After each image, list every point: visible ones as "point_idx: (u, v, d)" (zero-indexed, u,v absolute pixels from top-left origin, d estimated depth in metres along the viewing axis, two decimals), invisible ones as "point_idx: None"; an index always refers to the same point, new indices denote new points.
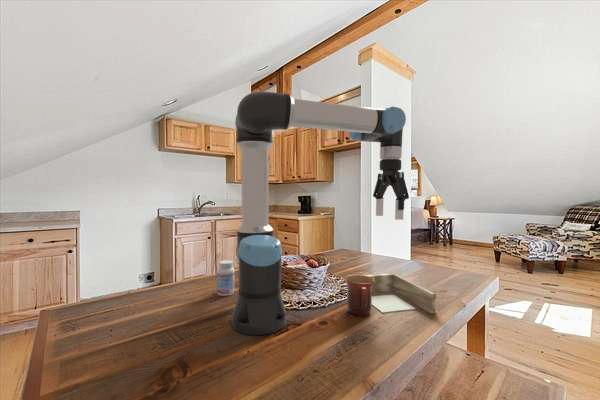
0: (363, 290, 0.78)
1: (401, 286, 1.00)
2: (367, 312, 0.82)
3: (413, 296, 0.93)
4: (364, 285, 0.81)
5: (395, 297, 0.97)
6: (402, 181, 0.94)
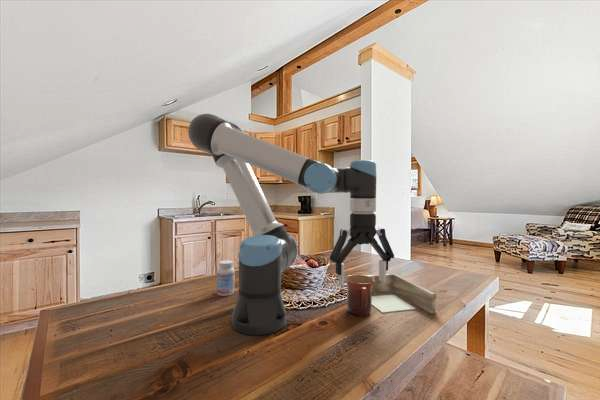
0: (363, 290, 0.78)
1: (401, 286, 1.00)
2: (367, 312, 0.82)
3: (413, 296, 0.93)
4: (364, 285, 0.81)
5: (395, 297, 0.97)
6: (338, 241, 0.81)
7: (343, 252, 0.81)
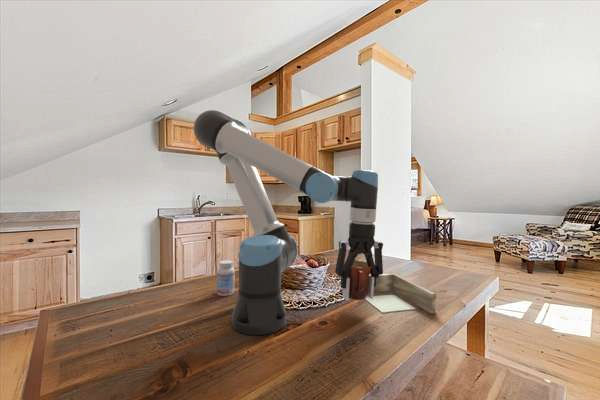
0: (361, 274, 0.78)
1: (401, 286, 1.00)
2: (363, 297, 0.82)
3: (413, 296, 0.93)
4: (362, 269, 0.81)
5: (395, 297, 0.97)
6: (340, 254, 0.81)
7: (346, 265, 0.82)
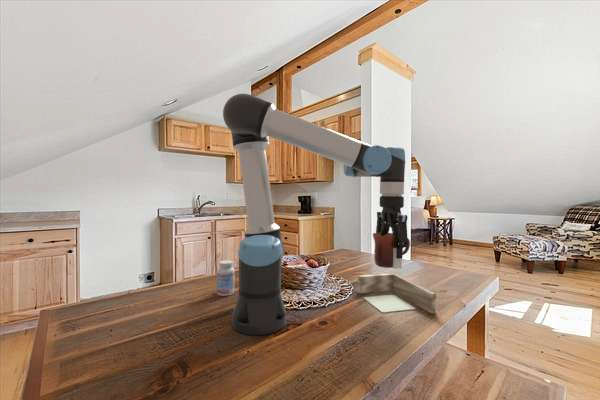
0: None
1: (401, 286, 1.00)
2: None
3: (413, 296, 0.93)
4: None
5: (395, 297, 0.97)
6: (403, 227, 0.85)
7: None
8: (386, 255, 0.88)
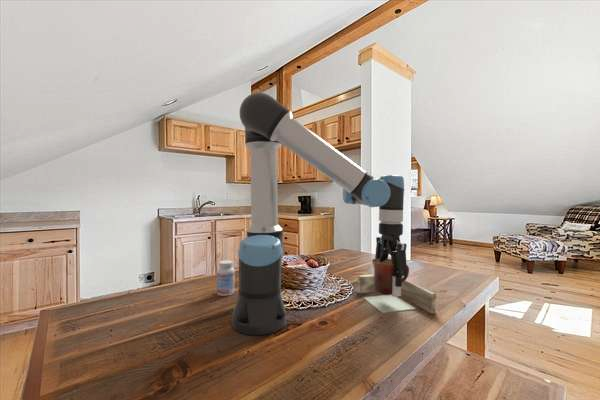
0: None
1: (401, 286, 1.00)
2: None
3: (413, 296, 0.93)
4: None
5: (395, 297, 0.97)
6: (402, 256, 0.85)
7: None
8: (385, 283, 0.88)
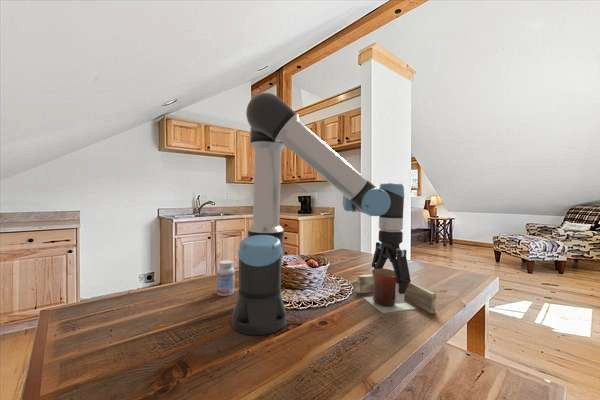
0: None
1: None
2: None
3: (413, 296, 0.93)
4: None
5: None
6: (404, 262, 0.85)
7: None
8: (385, 294, 0.88)
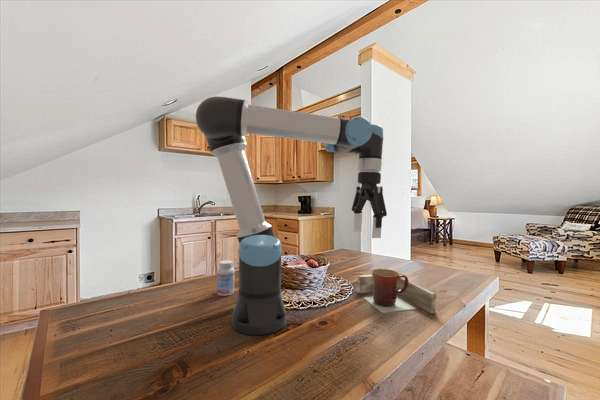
0: (406, 276, 0.91)
1: (401, 286, 1.00)
2: None
3: (413, 296, 0.93)
4: None
5: None
6: (380, 197, 0.87)
7: None
8: (385, 294, 0.88)
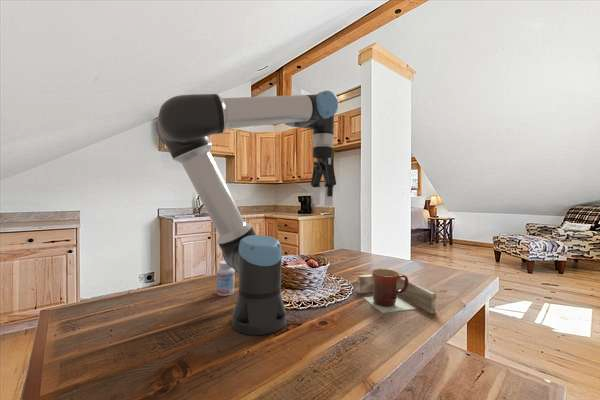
0: (406, 276, 0.91)
1: (401, 286, 1.00)
2: None
3: (413, 296, 0.93)
4: None
5: None
6: (330, 168, 0.95)
7: None
8: (385, 294, 0.88)
